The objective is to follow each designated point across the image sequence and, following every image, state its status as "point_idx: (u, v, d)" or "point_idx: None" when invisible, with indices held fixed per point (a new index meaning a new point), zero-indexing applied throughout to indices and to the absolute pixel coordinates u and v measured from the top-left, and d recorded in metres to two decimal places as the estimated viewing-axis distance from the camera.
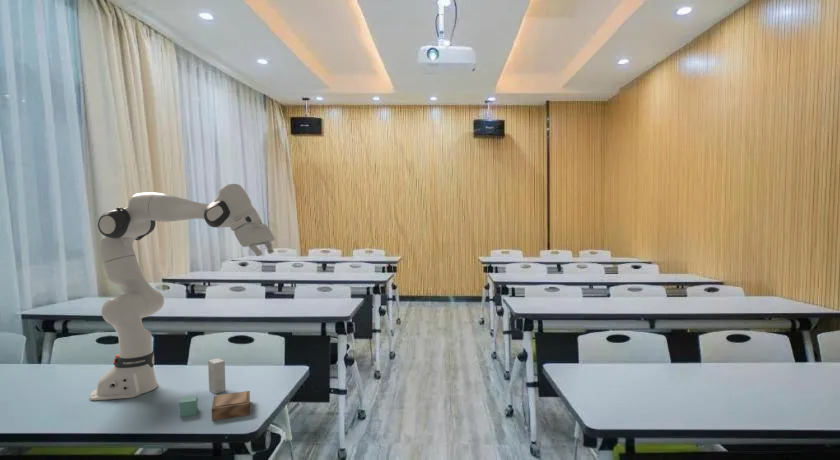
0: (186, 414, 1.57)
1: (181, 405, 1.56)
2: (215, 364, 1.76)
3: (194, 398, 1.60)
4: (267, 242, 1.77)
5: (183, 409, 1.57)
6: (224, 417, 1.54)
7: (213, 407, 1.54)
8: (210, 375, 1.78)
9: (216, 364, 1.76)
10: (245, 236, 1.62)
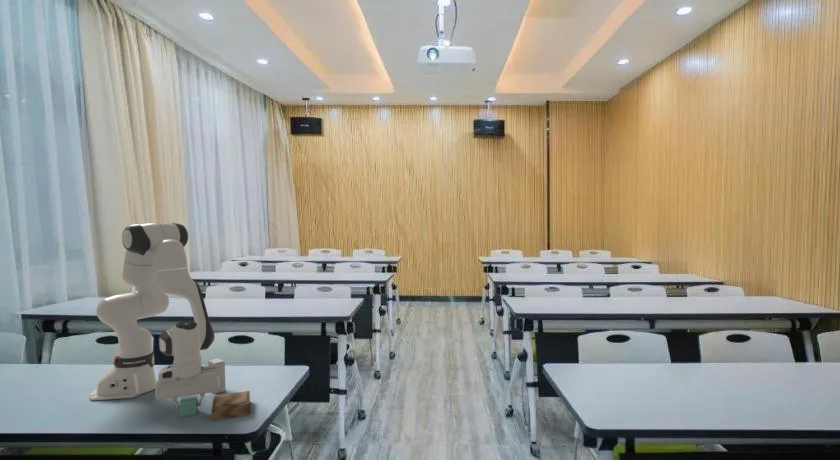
0: (186, 414, 1.57)
1: (181, 405, 1.56)
2: (215, 364, 1.76)
3: (194, 398, 1.60)
4: (204, 392, 1.61)
5: (183, 409, 1.57)
6: (224, 417, 1.54)
7: (213, 407, 1.54)
8: None
9: (216, 364, 1.76)
10: (155, 391, 1.54)
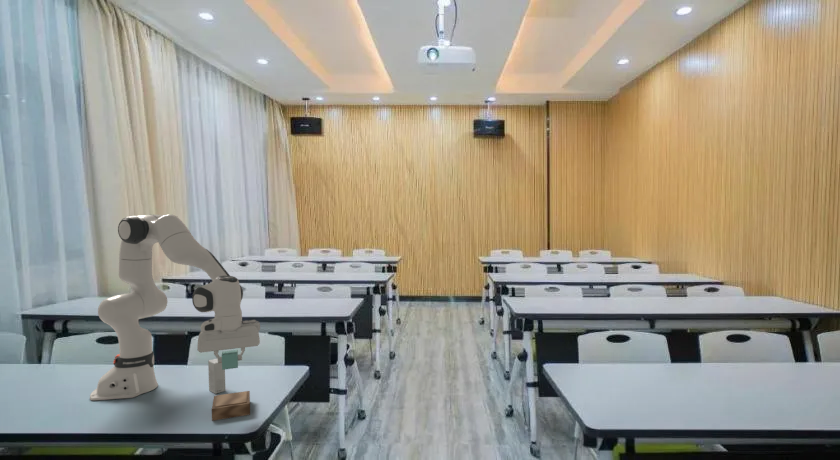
0: (228, 367, 1.57)
1: (223, 358, 1.57)
2: (215, 364, 1.76)
3: (235, 352, 1.60)
4: None
5: (225, 362, 1.57)
6: (224, 417, 1.54)
7: (213, 407, 1.54)
8: (210, 375, 1.78)
9: (216, 364, 1.76)
10: None
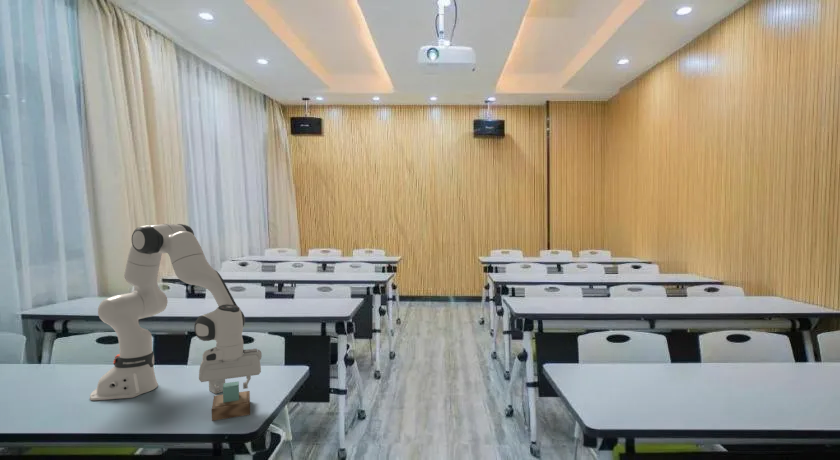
0: (229, 400, 1.58)
1: (224, 391, 1.57)
2: None
3: (236, 384, 1.61)
4: (246, 375, 1.62)
5: (226, 395, 1.58)
6: (224, 417, 1.54)
7: (213, 407, 1.54)
8: None
9: None
10: (199, 374, 1.55)
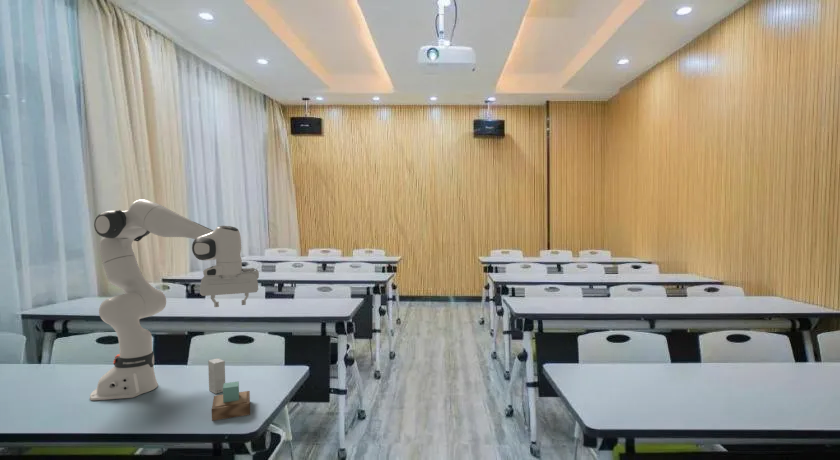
0: (229, 400, 1.58)
1: (224, 391, 1.57)
2: (215, 364, 1.76)
3: (236, 384, 1.61)
4: None
5: (226, 395, 1.58)
6: (224, 417, 1.54)
7: (213, 407, 1.54)
8: (210, 375, 1.78)
9: (216, 364, 1.76)
10: (200, 288, 1.66)
